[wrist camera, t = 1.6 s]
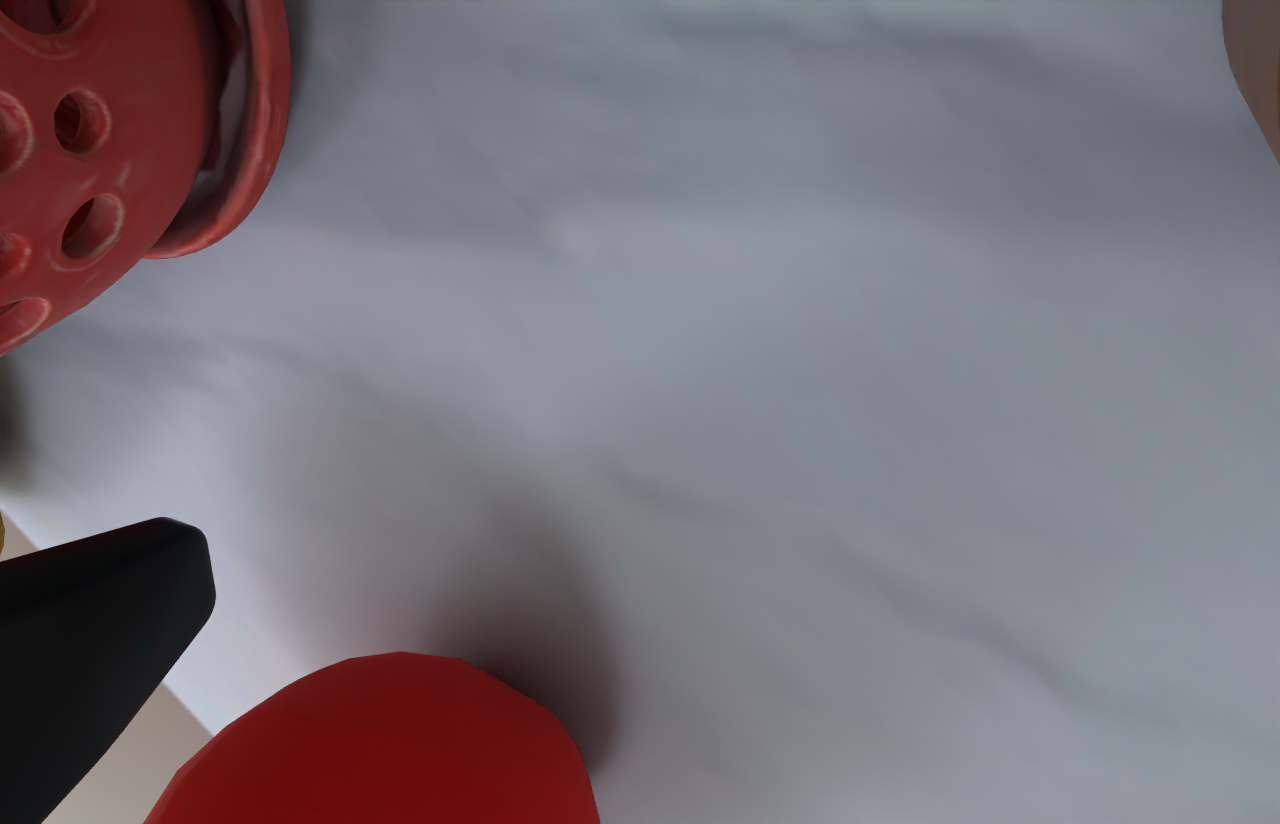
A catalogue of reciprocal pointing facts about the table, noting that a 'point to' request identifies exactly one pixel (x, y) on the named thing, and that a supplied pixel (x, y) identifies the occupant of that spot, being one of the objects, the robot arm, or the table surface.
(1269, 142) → the bottle
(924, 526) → the table surface
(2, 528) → the decorative skull
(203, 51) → the flower pot
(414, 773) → the tomato
